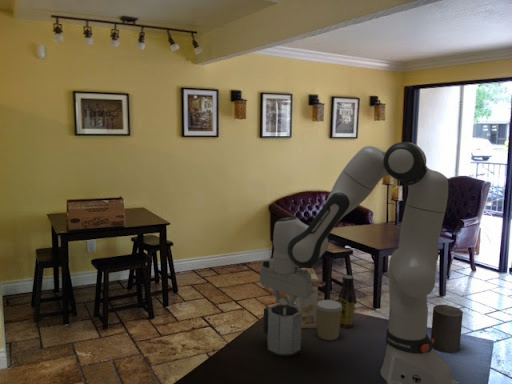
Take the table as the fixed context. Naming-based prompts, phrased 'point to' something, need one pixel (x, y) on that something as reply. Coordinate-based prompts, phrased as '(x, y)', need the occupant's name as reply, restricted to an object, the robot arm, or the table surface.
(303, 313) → the coffeecake box
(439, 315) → the pillar candle
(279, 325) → the press pot
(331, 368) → the table surface
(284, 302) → the plunger
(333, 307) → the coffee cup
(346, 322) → the sauce bottle
